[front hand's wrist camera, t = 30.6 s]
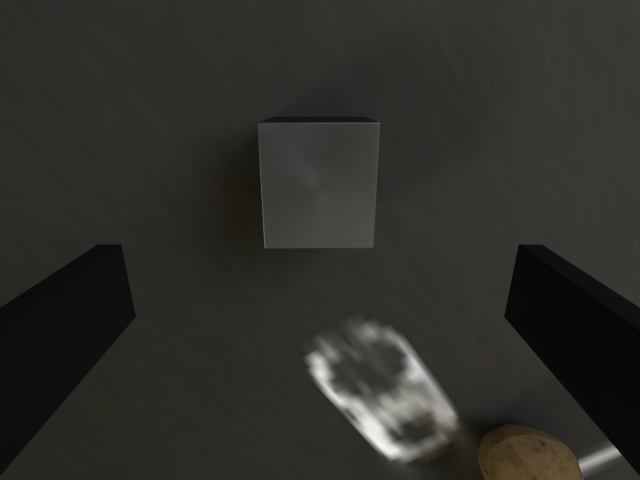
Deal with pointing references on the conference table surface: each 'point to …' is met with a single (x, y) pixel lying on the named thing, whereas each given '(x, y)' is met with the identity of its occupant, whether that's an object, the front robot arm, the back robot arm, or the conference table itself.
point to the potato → (525, 455)
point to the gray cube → (318, 181)
